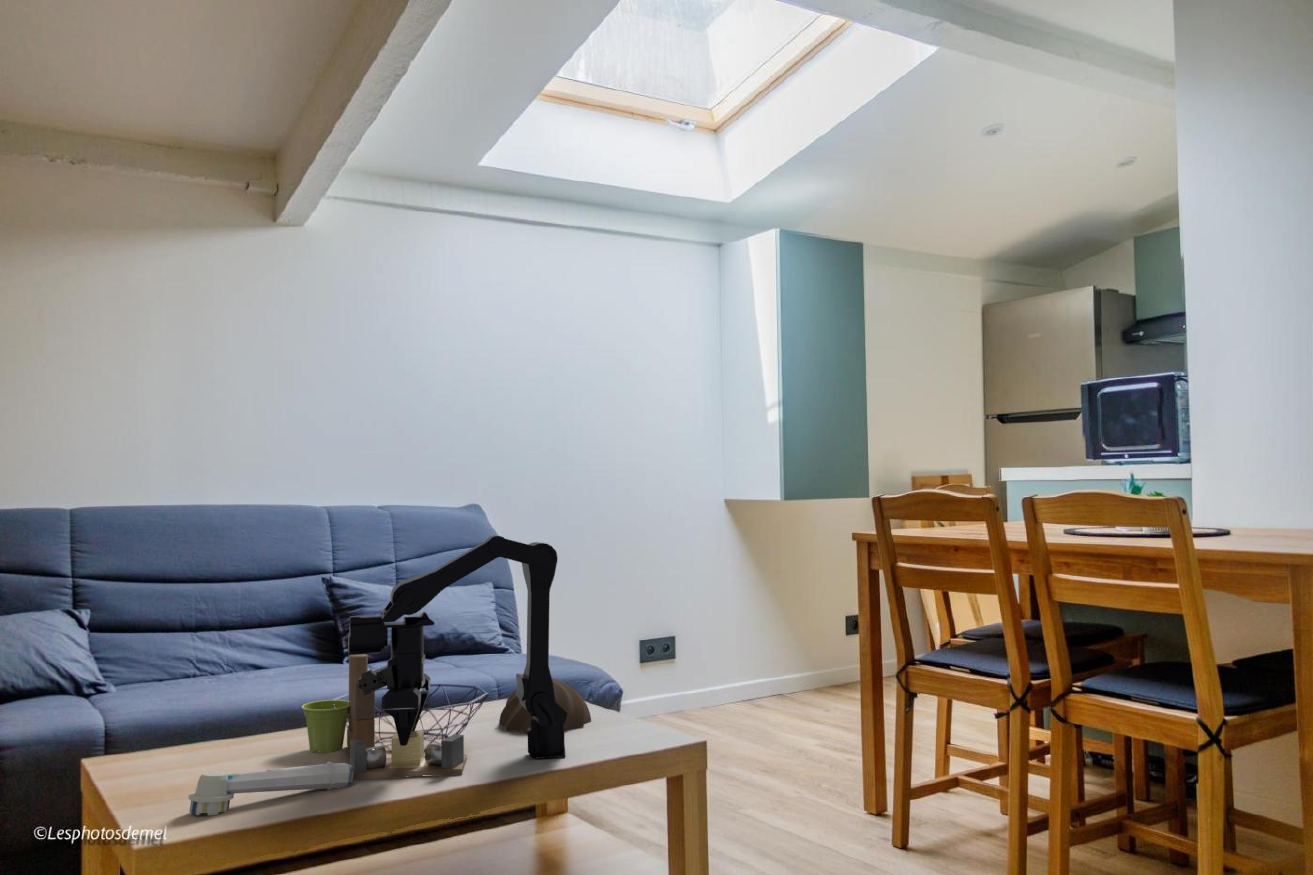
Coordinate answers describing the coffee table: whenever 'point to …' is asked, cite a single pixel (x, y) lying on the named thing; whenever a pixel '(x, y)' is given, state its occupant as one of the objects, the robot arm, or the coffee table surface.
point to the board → (408, 770)
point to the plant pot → (326, 724)
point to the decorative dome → (565, 697)
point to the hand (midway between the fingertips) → (407, 739)
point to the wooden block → (360, 704)
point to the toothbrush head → (264, 784)
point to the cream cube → (408, 750)
